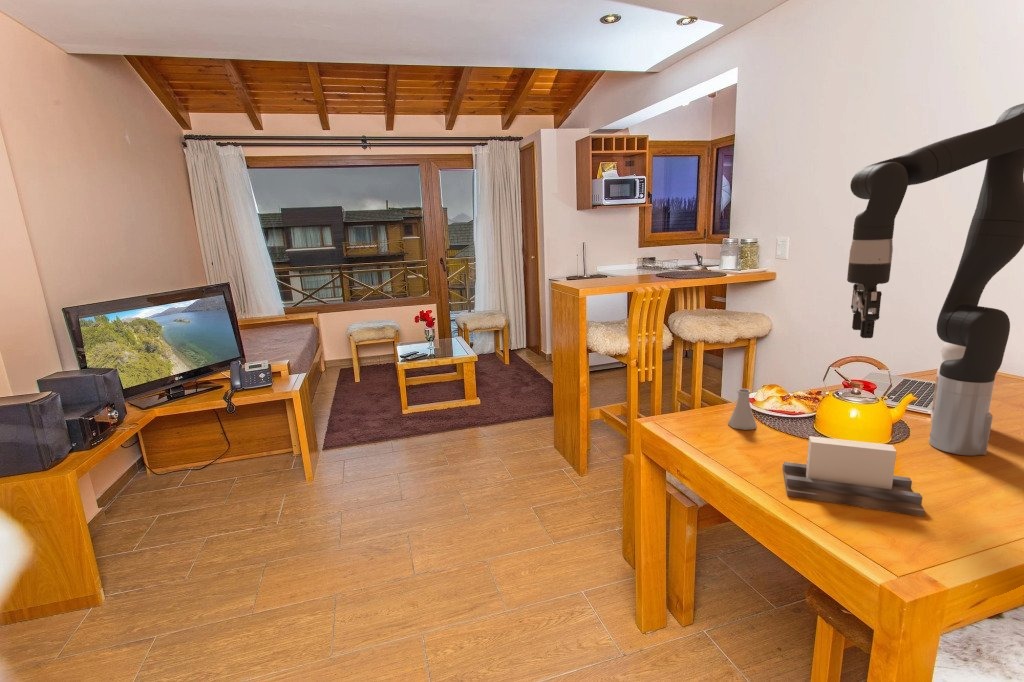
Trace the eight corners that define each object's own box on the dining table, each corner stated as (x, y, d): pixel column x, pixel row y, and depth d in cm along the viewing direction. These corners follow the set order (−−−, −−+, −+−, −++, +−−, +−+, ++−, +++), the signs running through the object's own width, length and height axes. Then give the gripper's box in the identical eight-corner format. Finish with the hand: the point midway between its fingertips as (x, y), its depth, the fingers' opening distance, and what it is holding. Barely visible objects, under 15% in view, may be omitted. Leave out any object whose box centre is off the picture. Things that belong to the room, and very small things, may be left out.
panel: (886, 486, 98) (892, 444, 96) (891, 494, 95) (896, 451, 93) (805, 475, 104) (809, 436, 102) (807, 482, 101) (811, 442, 99)
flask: (760, 431, 129) (762, 395, 127) (730, 430, 130) (732, 394, 128) (753, 420, 136) (755, 386, 134) (725, 420, 137) (726, 385, 135)
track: (904, 484, 100) (906, 472, 100) (924, 516, 90) (926, 503, 89) (782, 468, 109) (783, 457, 109) (787, 495, 99) (788, 483, 98)
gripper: (900, 263, 99) (891, 341, 102) (882, 257, 111) (874, 327, 115) (856, 264, 102) (848, 340, 106) (843, 258, 114) (836, 326, 118)
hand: (861, 333), depth 110 cm, fingers open, 8 cm apart
